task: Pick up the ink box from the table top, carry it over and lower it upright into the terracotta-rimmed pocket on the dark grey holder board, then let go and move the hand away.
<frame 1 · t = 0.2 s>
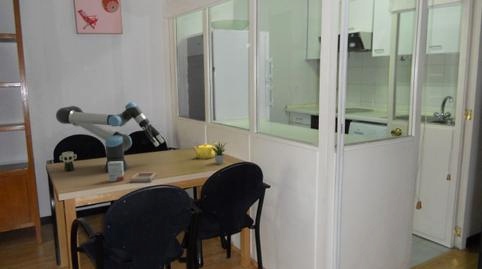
hand: (160, 144, 278), 15 cm above the table, tool tilted 35°, fingers open, 13 cm apart
ink box: (117, 180, 241), on the table
teapot: (206, 157, 300), on the table
house plant: (220, 162, 281), on the table
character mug: (69, 170, 271), on the table
holder: (144, 179, 241), on the table
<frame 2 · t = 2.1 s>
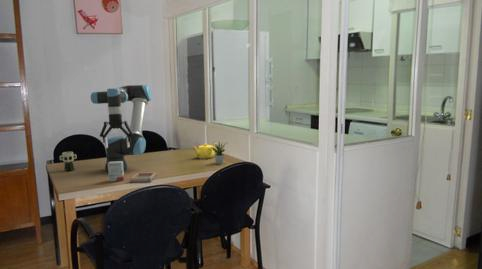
hand: (117, 147, 239), 21 cm above the table, tool pointing down, fingers open, 13 cm apart
nothing on the table moved.
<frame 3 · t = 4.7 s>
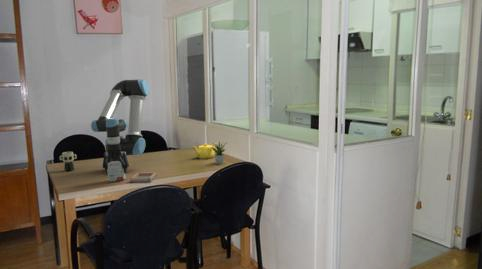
hand: (116, 178, 241), 1 cm above the table, tool pointing down, fingers closed on ink box, 9 cm apart
ink box: (117, 180, 241), on the table, touching gripper
everything else where it was.
when the fingers open (4 cm above the table, at t = 10.3 s): ink box drops 2 cm, resting on holder.
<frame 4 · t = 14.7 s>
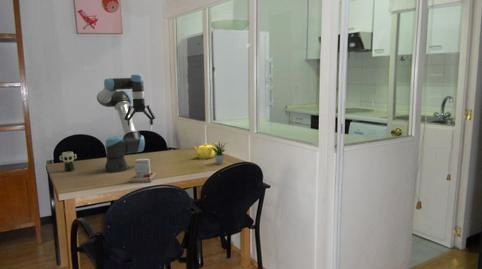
hand: (140, 130, 256), 29 cm above the table, tool pointing down, fingers open, 13 cm apart
ink box: (143, 178, 241), point 1 cm above the table, touching holder
everything else where it was.
at the end: ink box 0.1 cm off-centre on the holder, point 0.8 cm above the holder's base; ink box tilted 0°; the gripper is holding nothing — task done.
